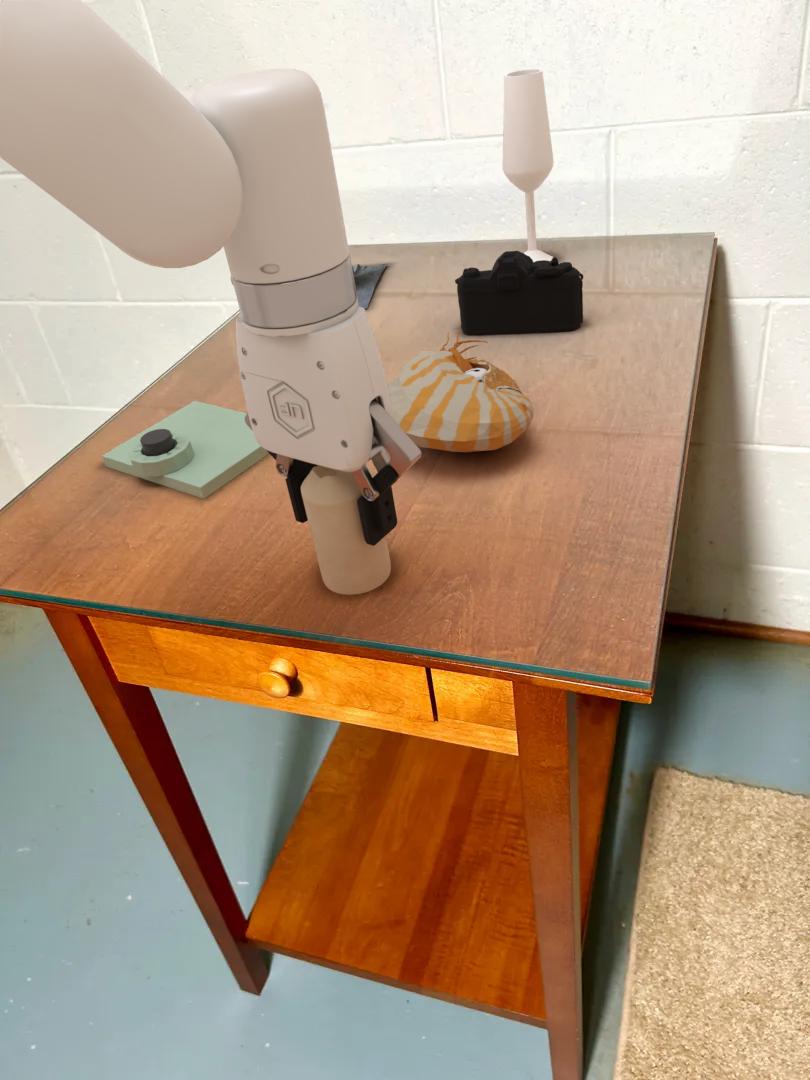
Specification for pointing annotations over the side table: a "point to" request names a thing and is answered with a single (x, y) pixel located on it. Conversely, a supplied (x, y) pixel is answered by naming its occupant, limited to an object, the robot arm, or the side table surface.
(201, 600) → the side table surface
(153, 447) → the button
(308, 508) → the candle
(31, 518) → the side table surface
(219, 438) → the scale
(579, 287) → the film camera
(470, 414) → the nautilus
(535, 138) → the champagne flute
